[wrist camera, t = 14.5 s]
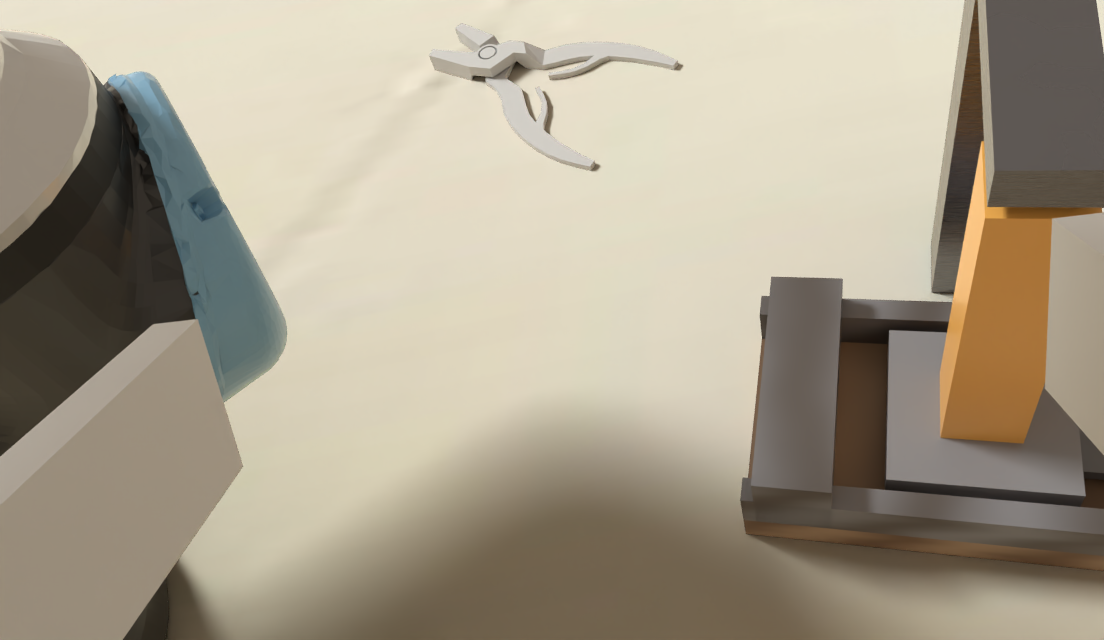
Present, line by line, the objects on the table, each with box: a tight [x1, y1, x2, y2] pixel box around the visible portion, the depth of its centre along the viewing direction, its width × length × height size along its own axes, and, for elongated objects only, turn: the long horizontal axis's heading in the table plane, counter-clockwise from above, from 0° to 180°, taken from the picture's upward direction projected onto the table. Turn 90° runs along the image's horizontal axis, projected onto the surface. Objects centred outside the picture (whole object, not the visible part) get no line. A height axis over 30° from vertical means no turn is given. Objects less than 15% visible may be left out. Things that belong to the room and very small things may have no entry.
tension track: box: [740, 277, 1104, 571], centre depth 39 cm, size 26×10×5 cm, turn 78°
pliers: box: [429, 23, 678, 171], centre depth 61 cm, size 10×2×15 cm
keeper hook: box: [931, 0, 1104, 293], centre depth 37 cm, size 3×12×19 cm, turn 168°
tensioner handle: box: [884, 141, 1104, 507], centre depth 33 cm, size 13×7×15 cm, turn 78°
